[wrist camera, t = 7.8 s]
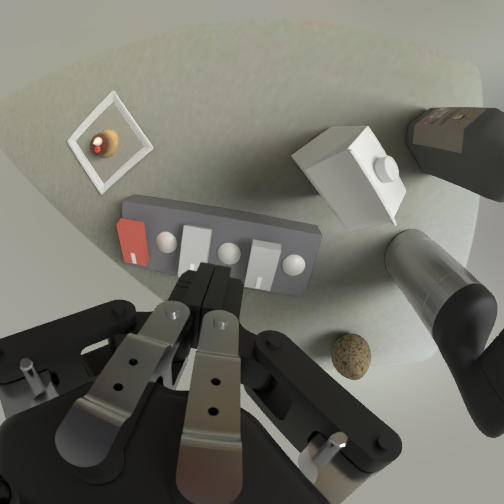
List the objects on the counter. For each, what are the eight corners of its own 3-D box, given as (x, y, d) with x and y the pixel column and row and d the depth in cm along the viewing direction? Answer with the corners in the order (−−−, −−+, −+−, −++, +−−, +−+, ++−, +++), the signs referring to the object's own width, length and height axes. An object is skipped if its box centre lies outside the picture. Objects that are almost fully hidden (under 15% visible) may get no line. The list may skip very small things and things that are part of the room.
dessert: (105, 194, 40) (89, 202, 36) (70, 140, 36) (52, 143, 32) (156, 147, 37) (143, 150, 33) (117, 90, 33) (100, 87, 29)
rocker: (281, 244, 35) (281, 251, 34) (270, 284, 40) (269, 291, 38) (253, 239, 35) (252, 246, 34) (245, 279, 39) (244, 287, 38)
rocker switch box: (317, 225, 40) (322, 236, 36) (301, 283, 44) (303, 298, 41) (134, 194, 40) (121, 201, 36) (133, 252, 44) (122, 264, 40)
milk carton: (320, 195, 38) (361, 250, 21) (290, 155, 36) (312, 178, 19) (359, 167, 36) (428, 201, 19) (330, 126, 34) (386, 125, 17)
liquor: (396, 131, 34) (575, 169, 6) (434, 102, 31) (600, 115, 3) (425, 180, 36) (578, 270, 9) (460, 151, 33) (610, 208, 6)
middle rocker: (212, 228, 36) (211, 230, 35) (205, 278, 38) (203, 282, 37) (186, 223, 36) (183, 225, 35) (180, 273, 38) (177, 277, 36)
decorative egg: (326, 329, 48) (336, 369, 39) (364, 321, 47) (379, 359, 38) (329, 355, 51) (337, 394, 42) (363, 348, 50) (376, 385, 41)
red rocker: (144, 222, 35) (139, 229, 33) (149, 259, 39) (145, 266, 38) (120, 218, 34) (115, 225, 33) (127, 255, 39) (124, 262, 38)
